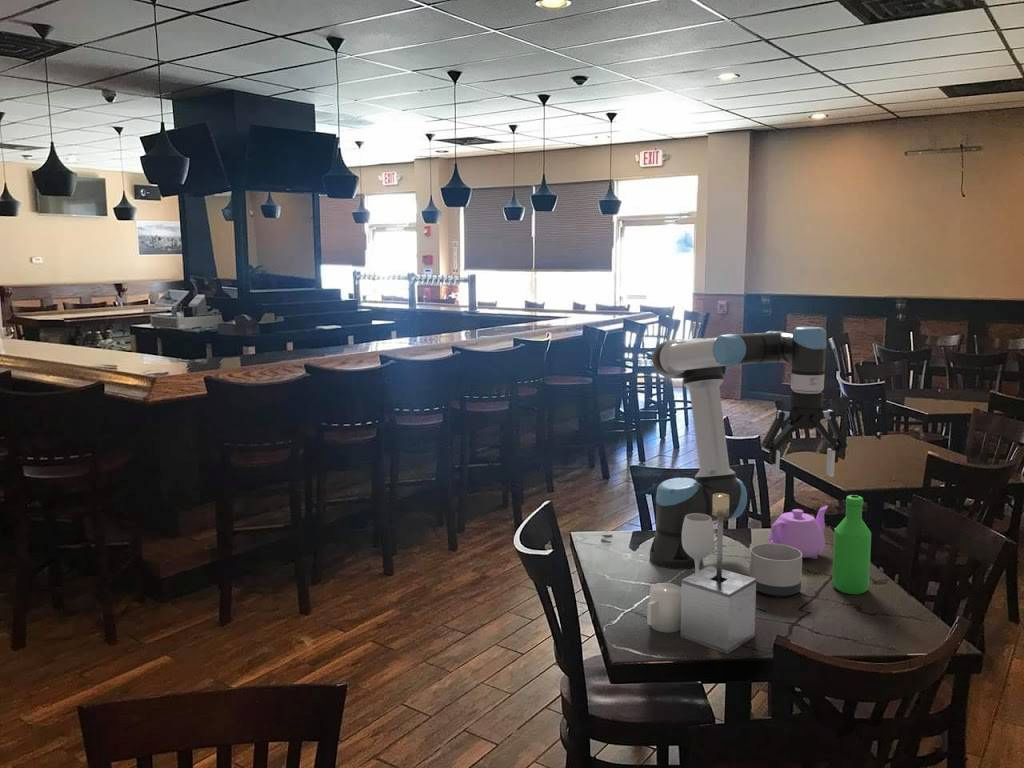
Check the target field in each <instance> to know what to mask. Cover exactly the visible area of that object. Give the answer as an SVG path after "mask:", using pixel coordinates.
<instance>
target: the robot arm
mask: <svg viewBox="0 0 1024 768" xmlns="http://www.w3.org/2000/svg"><path fill="white" fill-rule="evenodd" d="M827 346H828V344H827V330H826V329H825V328H824V327H820V326H797V327H794V329H793V331H792V332H784V331H781V330H768V331H766V332H758V333H756V332H755V333H728V334H727V333H726V334H720V335H718V336H717V337H711V338H709V337H707V338H706V337H701V338H700V337H699V338H698V337H697V338H684V339H683V338H682V339H669V340H665V341H663V342H661V343H660V344H658V345H657V346H656V347H655V349H654V350H653V352H652V357H651V361H652V362H651V363H652V366H653V368H654V370H655V371H656V372H657V373H658V374H659V375H661V376H662V377H664V378H668V379H677V380H679V379H680V380H681V379H682V380H683V386H684V387H685V388H687V389H688V390H689V393H690V401H691V409H692V410H691V411H692V418H693V425H694V426H693V429H694V433H695V442H696V451H697V459H698V460H697V461H698V467H699V470H698V472H697V473H696V474H695V476H694V478H691V477H673V478H670V479H666V480H663V481H662V482H660V483H659V485H658V486H657V487H656V496H655V503H656V504H655V506H656V509H655V512H656V513H655V534H654V538H653V541H652V544H651V547H650V549H649V560H650V561H651V562H652V563H653V564H655V565H657V566H659V567H663V568H668V569H674V570H677V569H678V570H682V569H683V570H686V569H692V568H695V561H694V559H693V558H692V557H690V556H689V555H688V554H687V553H686V552H685V550H684V549H683V546H682V527H683V522H684V518H685V516H686V515H687V514H692V513H700V514H706V515H709V516H710V517H711V518H712V522H718V517H717V516H714V515H712V505H713V494H716V493H723V494H728V495H729V516H727V517H723V521H728V520H729V521H730V520H732V519H737V518H738V517H740V516H741V515H742V514H743V513H744V511H745V509H746V507H747V503H748V493H747V492H748V491H747V488H746V486H745V485H744V483H743V481H742V480H741V479H739V478H737V474H736V471H734V470H733V469H731V467H730V463H729V454H728V446H727V437H726V432H725V431H726V429H725V422H724V415H723V414H724V413H723V407H722V399H721V391H720V390H721V389H720V387H721V385H723V382H724V381H725V380H724V376H725V375H727V373H728V372H729V370H730V366H737V365H749V364H771V363H783V364H784V363H785V364H791V371H790V372H791V374H790V377H791V378H790V388H791V389H792V390H791V391H790V395H789V396H790V397H789V409H788V411H784V410H783V411H782V410H780V409H778V410H776V413H775V419H774V421H773V422H772V424H771V426H770V428H769V430H768V431H767V433H766V435H765V437H764V439H763V440H762V443H761V446H762V447H763V448H764V449H766V450H768V462H769V463H770V464H771V476H773V477H774V478H775V479H779V478H780V463H781V462H780V461H781V460H780V459H781V452H780V451H779V448H781V446H782V445H783V444H784V443H785V442H786V441H787V440H788V438H789V437H790V436H791V435H792V434H793V433H794V432H796V431H797V430H805V429H807V430H813V429H815V430H816V431H817V432H818V433H819V434H820V436H821V437H822V438H823V440H825V442H826V443H827V444H828V446H829V447H830V448H829V447H828V448H827V449H826V466H825V467H826V468H825V469H826V470H825V475H827V476H828V477H830V478H834V477H835V464H837V463H838V462H839V452H841V451H842V449H845V448H847V447H848V444H847V441H846V438H845V437H844V435H843V432H842V431H841V428H840V425H839V423H838V421H837V416H836V415H837V414H836V411H835V410H833V409H830V408H828V409H826V410H823V406H824V393H823V390H825V389H824V388H825V387H824V386H825V370H826V369H825V368H826V356H827V355H826V353H827ZM788 418H789V421H788V422H787V423H786V424H785V427H784V428H783V429H782V431H781V432H780V433H779V431H780V429H781V428H782V425H783V424H784V421H786V420H787V419H788ZM824 418H825V419H826V420H827V423H828V425H829V427H830V429H831V432H832V434H833V436H834V438H833V437H832V436H831V434H830V433H829V432H828V431H827V430H826V428H825V426H824V425H823V424H822V422H821V420H823V419H824ZM778 433H779V434H778ZM835 440H836V441H835ZM703 559H704V558H702V559H701V560H700V564H699V566H701V565H702V564H703V561H704V560H703Z"/></svg>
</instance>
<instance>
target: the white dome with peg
mask: <svg viewBox="0 0 1024 768" xmlns="http://www.w3.org/2000/svg"><path fill="white" fill-rule="evenodd" d="M646 607H647V609H646V611H647V614H646V616H647V619H646V624H647V625H649V627H650V628H651V629H653V630H655V631H657V632H660V633H661V632H662V633H675V632H678V631H681V586H680V585H678V584H675V583H670V582H659V583H654V584H652V585H650V586H649V602H648V603H647V605H646Z"/></svg>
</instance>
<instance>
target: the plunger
mask: <svg viewBox="0 0 1024 768" xmlns="http://www.w3.org/2000/svg"><path fill="white" fill-rule="evenodd" d="M712 515H714V516H717V517H718V521H717V531H716V532H717V533H716V534H717V535H716V536H717V538H716V566H715V567H716V580H714V581H717V582H720V583H722V569H723V544H724V541H723V540H724V539H723V538H724V520H723V517H727V516H729V495H728V494H723V493H716V494H713V505H712Z"/></svg>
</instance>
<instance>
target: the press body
mask: <svg viewBox="0 0 1024 768" xmlns="http://www.w3.org/2000/svg"><path fill="white" fill-rule="evenodd" d="M716 567H717V566H713V565H708V566H706V567H704V568H702V569H699V571H698V572H696V573H695V572H694V573H692V574H690V575H688V576H686V577H684V578H683V579H681V586H680V587H681V629H680V638H682V639H684V640H686V641H690V642H692V643H696V644H698V645H701V646H702V647H703V646H704V647H706V648H709V649H712V650H714V651H717V650H718V651H717V652H719V651H720V652H719V653H722V652H724V653H723V654H725V653H727V654H726V655H729V654H730V652H731V651H732V652H733V650H734V651H735V650H737V649H738V648H740V647H741V646H742V645H744V644H745V643H747V642H748V641H750V640H751V639H752V638H754V637H755V632H756V598H757V590H756V579H755V578H752V577H750V576H749V575H744V574H741V573H737V572H733V571H730V570H727V569H723V568H722V583H720V582H717V581H714V580H716ZM736 648H737V649H736ZM732 652H731V653H732ZM728 653H729V654H728Z"/></svg>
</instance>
